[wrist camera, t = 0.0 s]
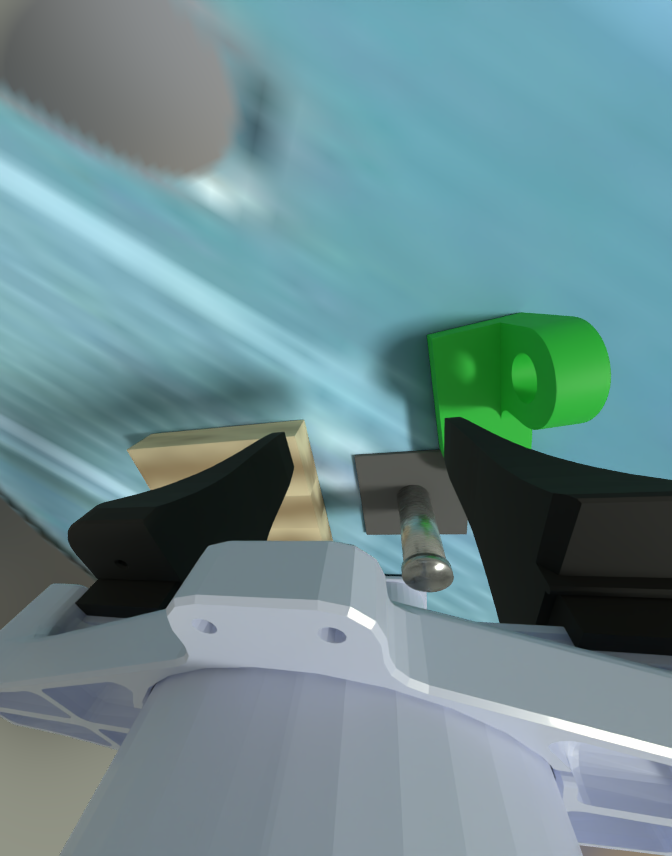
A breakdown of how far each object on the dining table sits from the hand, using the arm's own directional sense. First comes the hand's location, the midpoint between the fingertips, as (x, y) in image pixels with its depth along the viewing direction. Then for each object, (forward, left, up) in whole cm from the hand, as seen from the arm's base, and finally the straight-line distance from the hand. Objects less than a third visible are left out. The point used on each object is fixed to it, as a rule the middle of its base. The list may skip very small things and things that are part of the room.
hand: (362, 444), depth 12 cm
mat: (-12, -3, -10) cm, 16 cm away
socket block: (-11, +14, -10) cm, 20 cm away
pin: (-12, -3, -10) cm, 16 cm away
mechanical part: (-3, -8, -10) cm, 13 cm away
